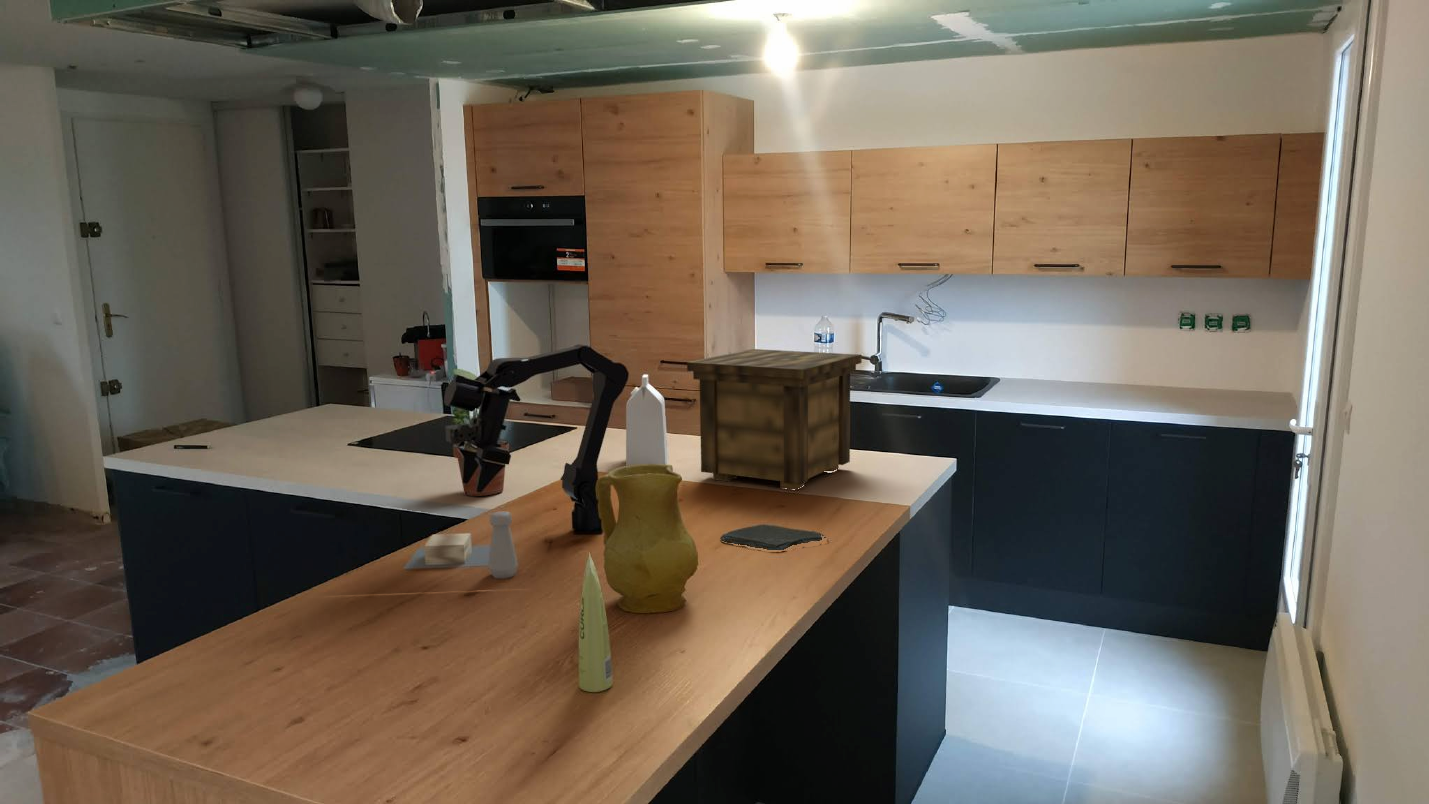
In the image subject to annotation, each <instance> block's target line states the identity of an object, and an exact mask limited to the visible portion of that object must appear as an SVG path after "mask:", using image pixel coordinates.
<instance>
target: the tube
mask: <svg viewBox="0 0 1429 804" xmlns="http://www.w3.org/2000/svg"><path fill="white" fill-rule="evenodd" d="M600 583H601V582H600V579H599V576H598V572H597V568H596V566H595V563H594V561H593V558H592V557H591V553H590V552H588V558H587V561H586V565H585V569H584V574H583V580H582V590H581V591H582V592H581V597H580V598H581V600H580V610H579V621H578V622H579V624H578V625H579V626H578V684H579V685H578V686H579V688H580V689H581V690H583V691H585V692H589V693H599V692H604V691H606V690H608V689H610V688H611V687H612V686H613V672H612V670H613V669H612V657H611V656H612V655H611V645H610V635H609V627H608V626H609V625H608V620H607V614H606V607H605V602H604V597H603V594H602V589H601V584H600Z"/></svg>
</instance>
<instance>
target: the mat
mask: <svg viewBox="0 0 1429 804" xmlns="http://www.w3.org/2000/svg"><path fill="white" fill-rule="evenodd" d="M490 546H491V544H490V545H489V544H488V545H487V544H485V545H472V552H471V554H470V556H469V557H468V559H467V561H466V563H465V564H436V565H425V552H424V547H418V548H417V550H416V551H415V552H414V554H413V555H412V556H411V558H410V559H409V561H407V563H406V564H405V566H404V567H403V570H413V569H438V568H439V569H441V568H444V569H445V568H468V567H469V568H470V567H474V568H475V567H488V561H489V553H490Z"/></svg>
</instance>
